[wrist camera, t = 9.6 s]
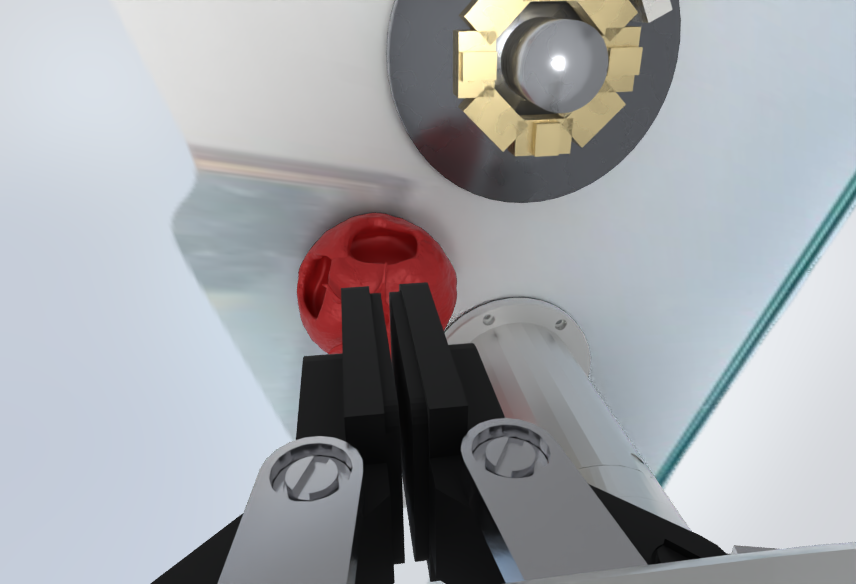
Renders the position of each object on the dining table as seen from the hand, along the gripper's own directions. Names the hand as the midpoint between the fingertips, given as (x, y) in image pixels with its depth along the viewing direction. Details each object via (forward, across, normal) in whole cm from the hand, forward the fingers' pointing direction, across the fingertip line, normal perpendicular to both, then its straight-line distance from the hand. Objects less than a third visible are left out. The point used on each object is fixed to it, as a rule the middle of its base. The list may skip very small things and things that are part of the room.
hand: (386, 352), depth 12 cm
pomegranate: (+27, -1, +10) cm, 29 cm away
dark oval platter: (+27, -11, -3) cm, 29 cm away
